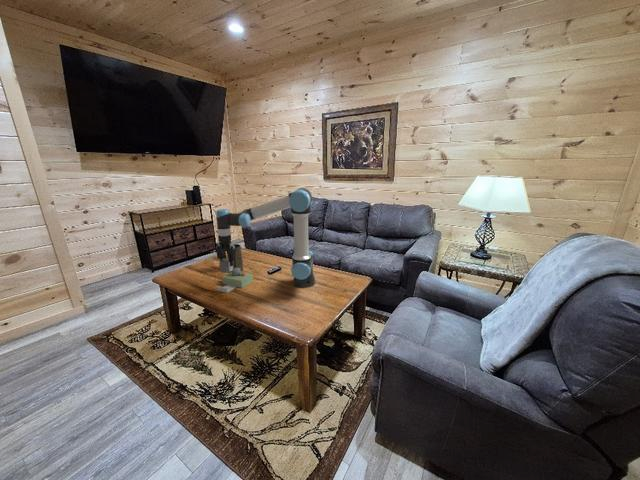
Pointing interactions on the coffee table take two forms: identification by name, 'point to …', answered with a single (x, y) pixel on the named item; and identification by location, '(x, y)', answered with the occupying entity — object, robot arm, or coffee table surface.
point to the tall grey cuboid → (225, 265)
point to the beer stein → (237, 257)
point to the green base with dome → (235, 280)
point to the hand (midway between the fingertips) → (227, 269)
